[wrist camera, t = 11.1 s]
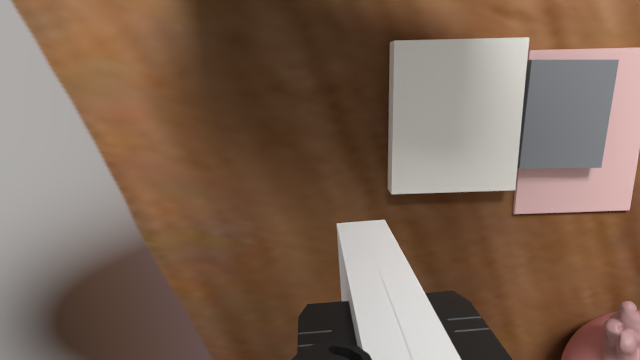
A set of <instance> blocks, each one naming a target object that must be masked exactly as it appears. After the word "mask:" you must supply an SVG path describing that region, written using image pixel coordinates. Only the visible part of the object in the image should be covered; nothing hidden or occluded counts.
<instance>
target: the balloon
mask: <svg viewBox="0 0 640 360" xmlns="http://www.w3.org/2000/svg"><path fill="white" fill-rule="evenodd" d="M561 360H640V310H637V307H636V305H635V304H634V303H632V302H630V301H624V302H622V303H621V305H620V309H619V311H616V312H611V313H607V314H604V315H601V316H599V317H596V318H594V319H593V320H591V321H589V322H587V323H586V324H584V325H583V326H582V327H581V328H580V329H578V330H577V331H576V332H575V334H574V335H573V336H572V337H571V339H570V340H569V342H568V343H567V345H566V347H565V349H564V352H563V354H562V358H561Z"/></svg>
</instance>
